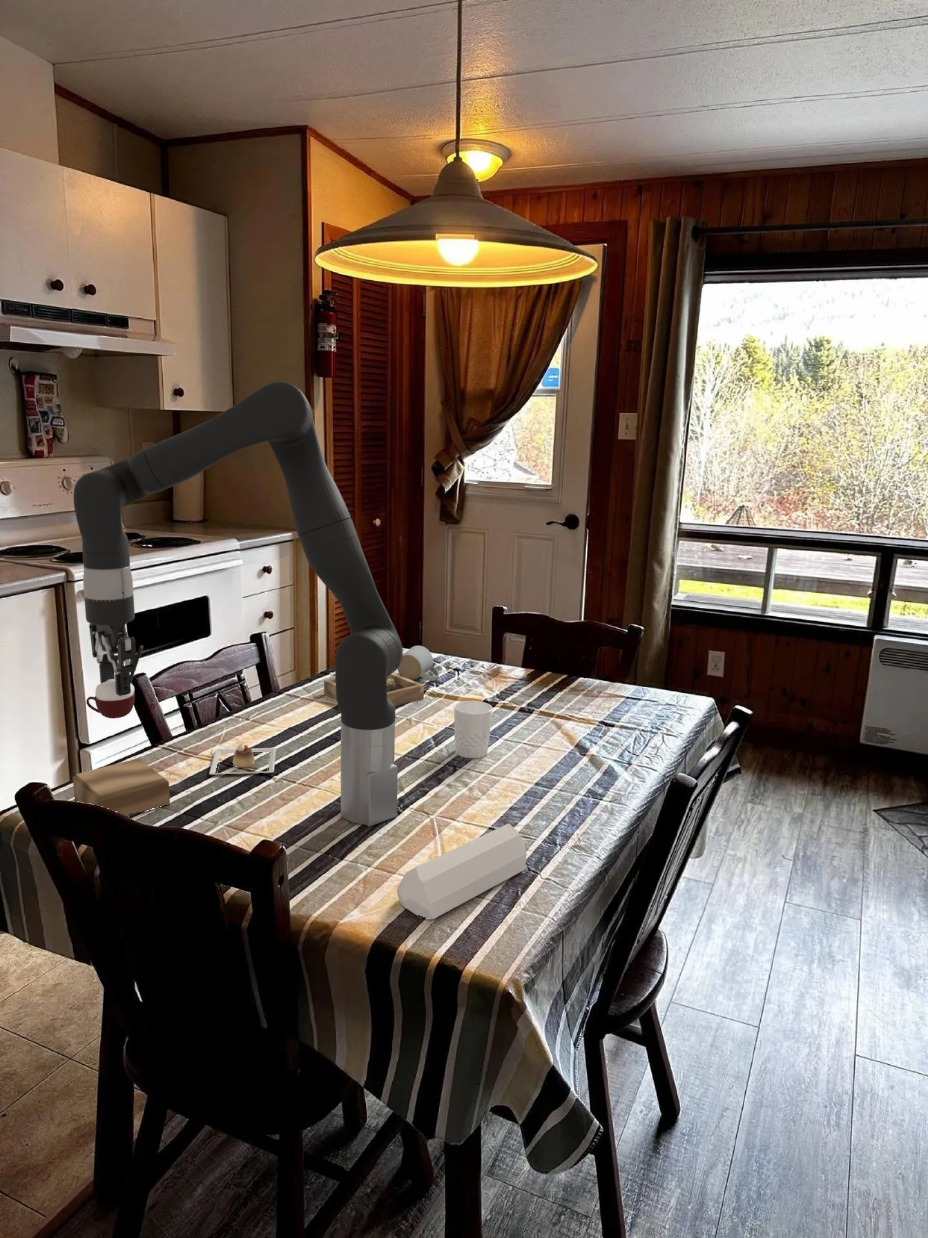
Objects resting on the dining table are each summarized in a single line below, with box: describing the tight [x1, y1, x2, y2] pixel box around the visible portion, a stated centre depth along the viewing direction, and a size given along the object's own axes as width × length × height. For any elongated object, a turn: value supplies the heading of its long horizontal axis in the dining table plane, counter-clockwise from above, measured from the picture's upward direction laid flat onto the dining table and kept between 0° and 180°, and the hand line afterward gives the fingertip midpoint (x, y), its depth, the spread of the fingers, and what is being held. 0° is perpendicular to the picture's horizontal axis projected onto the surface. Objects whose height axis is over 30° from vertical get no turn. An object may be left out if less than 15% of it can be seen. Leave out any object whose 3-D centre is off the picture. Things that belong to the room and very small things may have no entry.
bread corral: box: [323, 672, 425, 707], centre depth 206 cm, size 17×17×4 cm
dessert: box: [208, 743, 277, 776], centre depth 165 cm, size 12×12×5 cm
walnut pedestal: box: [72, 758, 171, 818], centre depth 147 cm, size 12×12×5 cm
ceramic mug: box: [397, 645, 440, 682], centre depth 221 cm, size 11×8×8 cm
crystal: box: [396, 822, 528, 920], centre depth 125 cm, size 7×7×24 cm
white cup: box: [453, 700, 493, 759], centre depth 174 cm, size 8×8×10 cm
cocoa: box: [85, 644, 144, 719], centre depth 142 cm, size 10×6×12 cm, turn 80°
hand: (115, 688), depth 143 cm, fingers closed on cocoa, 6 cm apart
